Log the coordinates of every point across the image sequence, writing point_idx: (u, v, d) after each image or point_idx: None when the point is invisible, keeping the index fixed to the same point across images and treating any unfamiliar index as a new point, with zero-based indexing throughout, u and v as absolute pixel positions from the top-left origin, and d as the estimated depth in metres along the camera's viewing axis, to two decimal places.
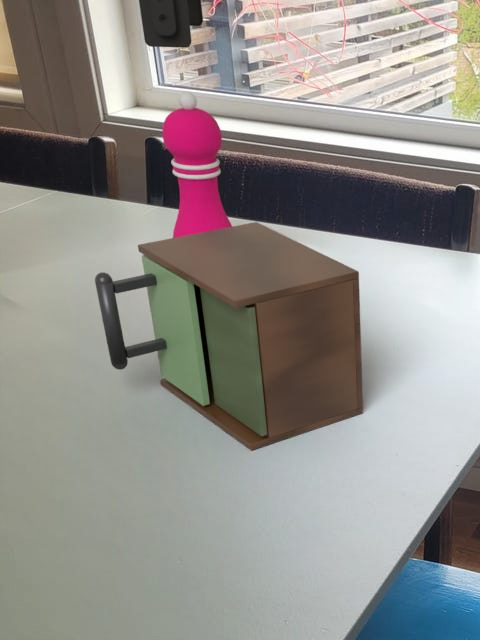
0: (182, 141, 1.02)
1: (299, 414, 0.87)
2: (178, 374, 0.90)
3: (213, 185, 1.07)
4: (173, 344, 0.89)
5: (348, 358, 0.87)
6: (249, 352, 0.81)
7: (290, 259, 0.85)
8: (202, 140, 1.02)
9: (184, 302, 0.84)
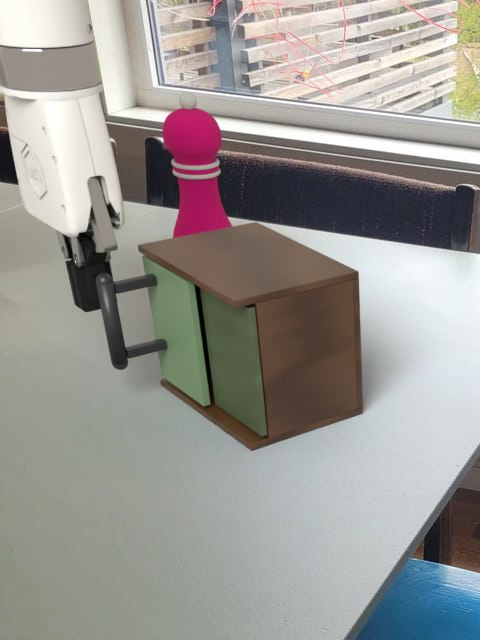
0: (182, 141, 1.02)
1: (299, 414, 0.87)
2: (179, 374, 0.90)
3: (213, 185, 1.07)
4: (174, 344, 0.89)
5: (348, 358, 0.87)
6: (249, 352, 0.81)
7: (290, 259, 0.85)
8: (202, 140, 1.02)
9: (184, 302, 0.84)
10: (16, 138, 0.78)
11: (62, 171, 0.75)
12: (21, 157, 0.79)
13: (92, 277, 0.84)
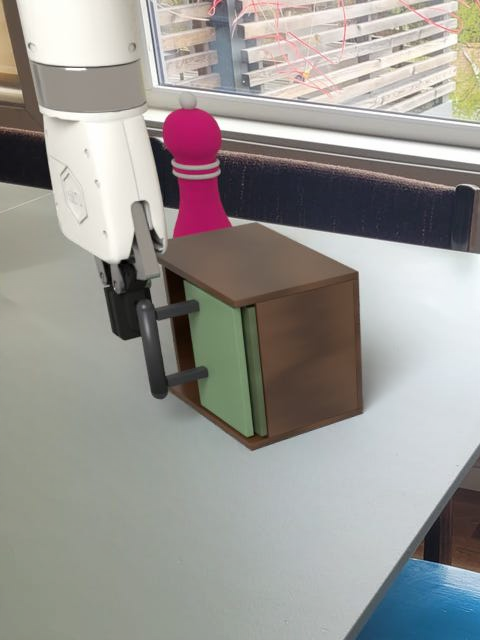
0: (182, 141, 1.02)
1: (299, 414, 0.87)
2: (220, 403, 0.86)
3: (213, 185, 1.07)
4: (215, 372, 0.85)
5: (348, 358, 0.87)
6: (249, 352, 0.81)
7: (290, 259, 0.85)
8: (202, 140, 1.02)
9: (229, 330, 0.80)
10: (55, 160, 0.74)
11: (105, 196, 0.71)
12: (60, 180, 0.75)
13: (131, 304, 0.80)
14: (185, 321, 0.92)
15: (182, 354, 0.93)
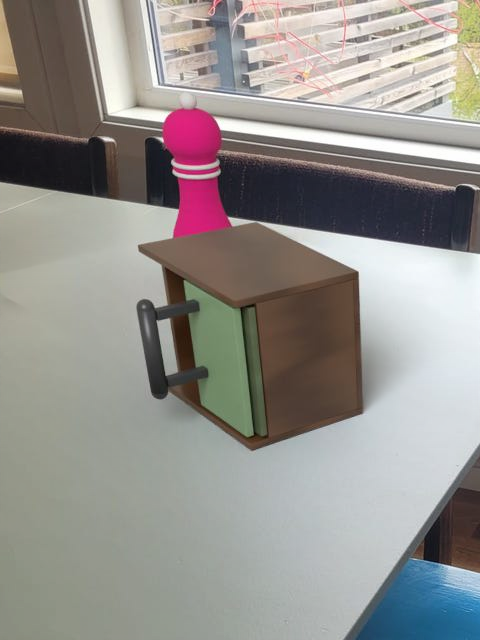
0: (182, 141, 1.02)
1: (299, 414, 0.87)
2: (220, 403, 0.86)
3: (213, 185, 1.07)
4: (216, 372, 0.85)
5: (348, 358, 0.87)
6: (249, 352, 0.81)
7: (290, 259, 0.85)
8: (202, 140, 1.02)
9: (229, 330, 0.80)
10: None
11: None
12: None
13: None
14: (185, 321, 0.92)
15: (182, 354, 0.93)
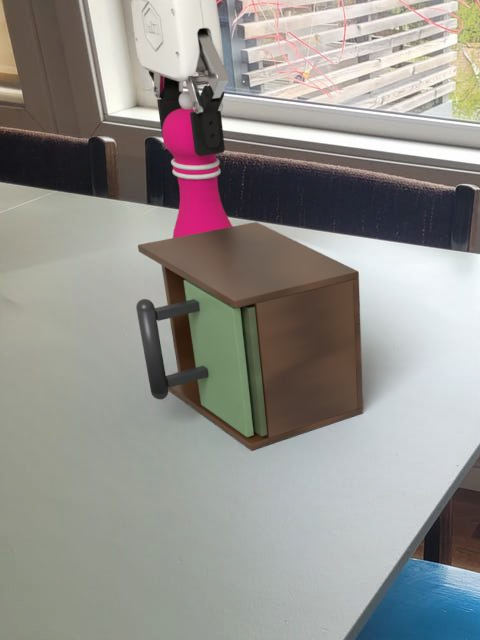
0: (181, 141, 1.02)
1: (299, 414, 0.87)
2: (220, 403, 0.86)
3: (212, 185, 1.07)
4: (216, 372, 0.85)
5: (348, 358, 0.87)
6: (249, 352, 0.81)
7: (290, 259, 0.85)
8: None
9: (229, 330, 0.80)
10: None
11: (178, 22, 0.94)
12: (141, 16, 0.97)
13: (207, 123, 1.00)
14: (185, 321, 0.92)
15: (182, 354, 0.93)
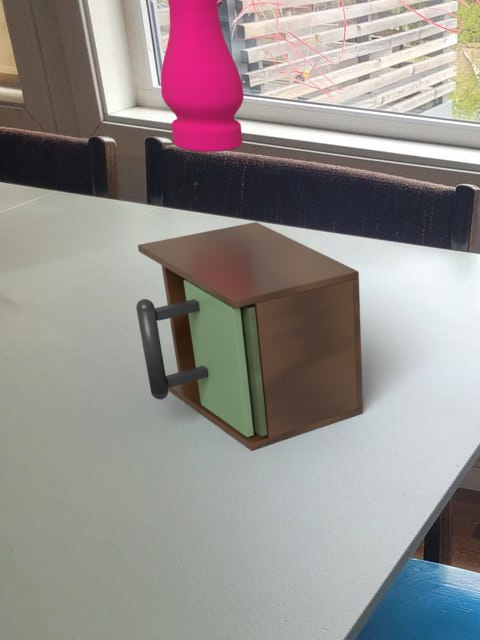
0: None
1: (299, 414, 0.87)
2: (220, 403, 0.86)
3: (211, 4, 0.85)
4: (216, 372, 0.85)
5: (348, 358, 0.87)
6: (249, 352, 0.81)
7: (290, 259, 0.85)
8: None
9: (229, 330, 0.80)
10: None
11: None
12: None
13: None
14: (185, 321, 0.92)
15: (182, 354, 0.93)
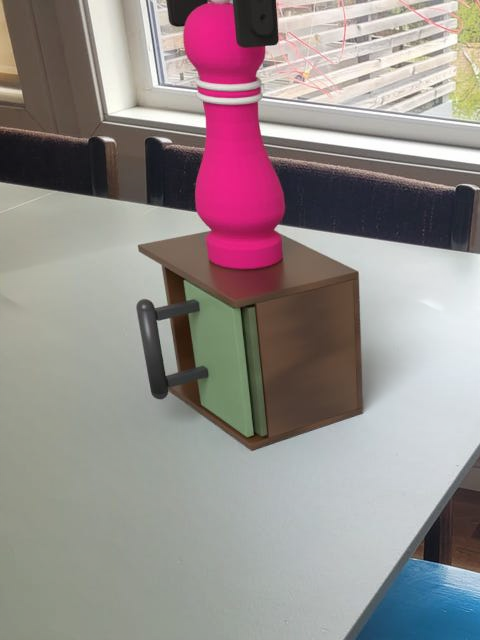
0: (211, 48, 0.72)
1: (299, 414, 0.87)
2: (220, 403, 0.86)
3: (252, 115, 0.77)
4: (216, 372, 0.85)
5: (348, 358, 0.87)
6: (249, 352, 0.81)
7: (290, 259, 0.85)
8: (239, 46, 0.73)
9: (229, 330, 0.80)
10: None
11: None
12: None
13: None
14: (185, 321, 0.92)
15: (182, 354, 0.93)
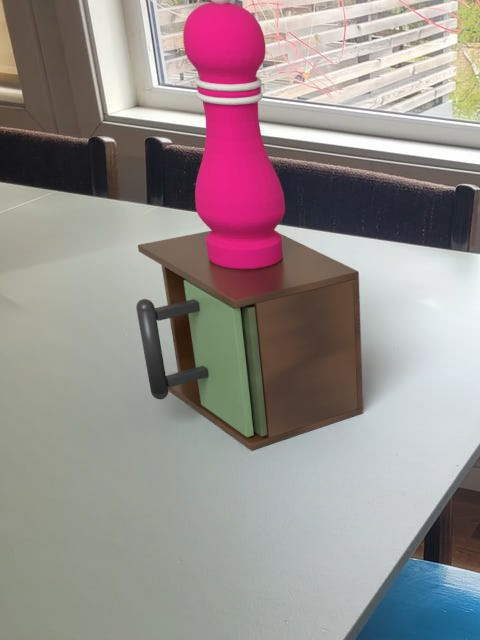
0: (211, 48, 0.72)
1: (299, 414, 0.87)
2: (220, 403, 0.86)
3: (252, 115, 0.77)
4: (216, 372, 0.85)
5: (348, 358, 0.87)
6: (249, 352, 0.81)
7: (290, 259, 0.85)
8: (239, 46, 0.73)
9: (229, 330, 0.80)
10: None
11: None
12: None
13: None
14: (185, 321, 0.92)
15: (182, 354, 0.93)
